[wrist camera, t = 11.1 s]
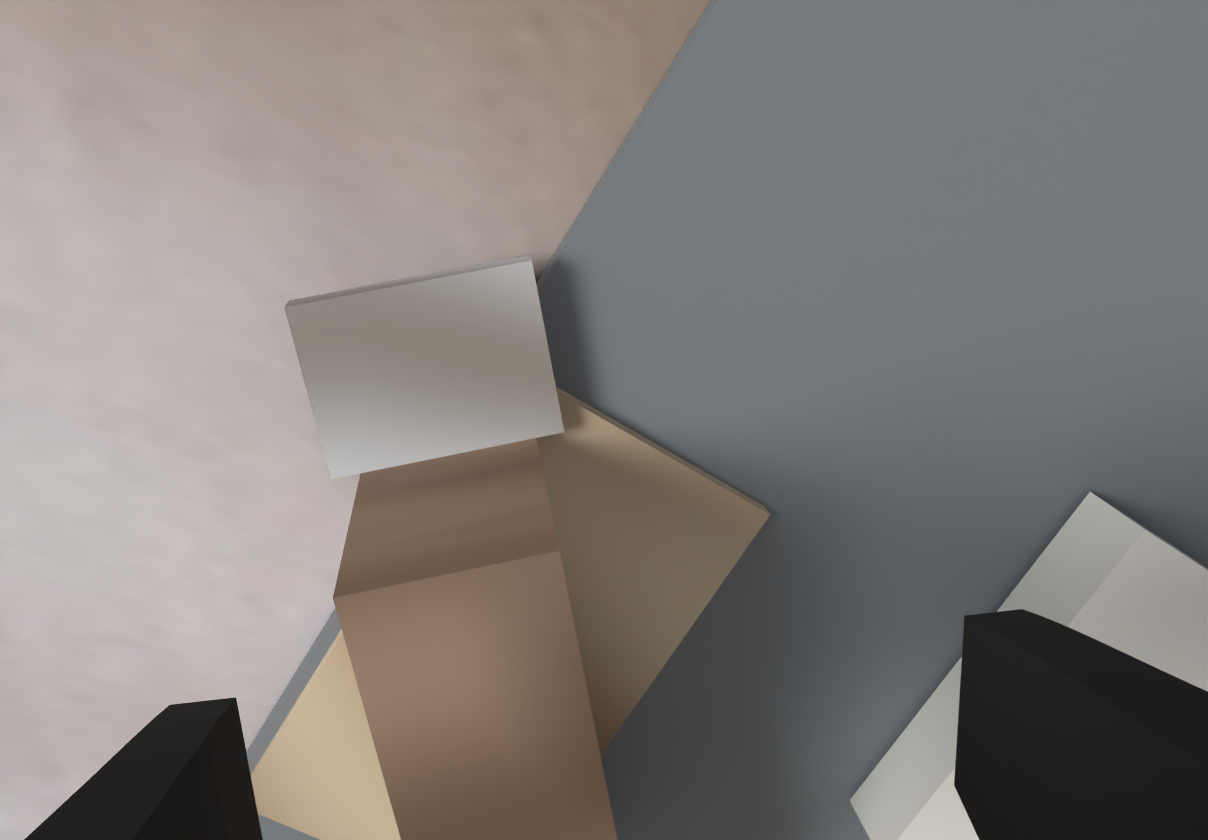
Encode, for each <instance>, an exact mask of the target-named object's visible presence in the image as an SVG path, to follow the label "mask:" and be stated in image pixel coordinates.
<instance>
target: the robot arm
mask: <svg viewBox="0 0 1208 840" xmlns="http://www.w3.org/2000/svg"><path fill="white" fill-rule="evenodd" d="M954 786H955V788H956V791H957V793H958V795H959V797H960V799H961V801H962V804H963V806H964V808H965V810H966V812H967V815H968V817H969V819H970V821H971V823H972V825H973V828H974V830H975V832H976V834H977V836H978V838H979V840H1208V692H1207V691H1205V690H1203V689H1201V688H1199V687H1197V686H1194V685H1192V684H1190V683H1188V682H1186V681H1184V680H1181V679H1179V678H1177V677H1175V676H1173V675H1171V674H1168V673H1166V672H1164V671H1162V670H1160V669H1158V668H1156V667H1153V666H1151V665H1149V664H1147V663H1145V662H1143V661H1141V660H1138V659H1136V658H1134V657H1132V656H1130V655H1128V654H1126V653H1124V652H1121V651H1119V650H1117V649H1115V648H1113V647H1111V646H1109V645H1107V644H1104V643H1102V642H1100V641H1098V640H1096V639H1094V638H1091V637H1089V636H1087V635H1085V634H1083V633H1080V632H1078V631H1076V630H1074V629H1071V628H1069V627H1067V626H1065V625H1062V624H1060V623H1058V622H1055V621H1053V620H1050V619H1048V618H1045V617H1043V616H1040V615H1038V614H1035V613H1032V612H1029V611H1026V610H1023V609H1018V610H1009V611H1001V612H992V613H983V614H974V615H965V616H964V631H963V647H962V664H961V680H960V696H959V713H958V729H957V746H956V762H955V778H954ZM24 840H263V838H262V833H261V828H260V822H259V817H258V812H257V806H256V801H255V796H254V791H253V785H252V780H251V775H250V769H249V764H248V759H247V754H246V748H245V743H244V738H243V732H242V727H241V722H240V716H239V711H238V706H237V701H236V698H227V699H218V700H209V701H201V702H192V703H183V704H174V705H169V706H168V707H167V708H166V709H165V710H163V711H162V712H161V713H160V714H159V715H157V716H156V717H155V718H154V719H153V720H152V721H151V722H150V723H149V724H147V725H146V726H145V727H144V728H143V729H142V730H141V731H140V732H139V733H138V734H137V735H136V736H135V737H133V738H132V739H131V740H130V741H129V742H128V743H127V744H126V745H125V746H124V747H123V748H122V749H121V750H120V751H119V752H118V753H117V754H116V755H114V756H113V757H112V758H111V759H110V760H109V761H108V762H107V763H106V764H105V765H104V766H103V767H102V768H101V769H100V770H99V771H98V772H97V773H96V774H95V775H93V776H92V777H91V778H90V779H89V780H88V781H87V782H86V783H85V784H84V785H83V786H82V787H81V788H80V789H78V790H77V791H76V792H75V793H74V794H73V795H72V796H71V797H70V798H69V799H68V800H67V801H66V802H64V803H63V804H62V805H61V806H60V807H59V808H58V809H57V810H56V811H55V812H54V813H53V814H51V815H50V816H49V817H48V818H47V819H46V820H45V821H44V822H43V823H42V824H41V825H40V826H39V827H37V828H36V829H35V830H34V831H33V832H32V833H31V834H30V835H29V836H28V837H27V838H25V839H24Z"/></svg>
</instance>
